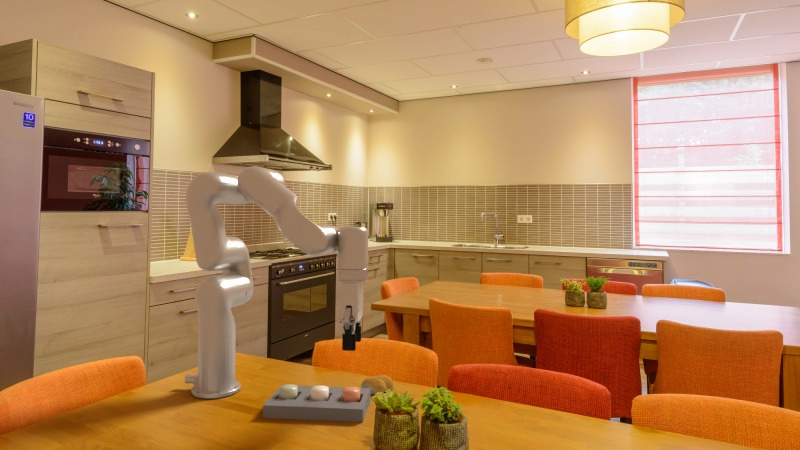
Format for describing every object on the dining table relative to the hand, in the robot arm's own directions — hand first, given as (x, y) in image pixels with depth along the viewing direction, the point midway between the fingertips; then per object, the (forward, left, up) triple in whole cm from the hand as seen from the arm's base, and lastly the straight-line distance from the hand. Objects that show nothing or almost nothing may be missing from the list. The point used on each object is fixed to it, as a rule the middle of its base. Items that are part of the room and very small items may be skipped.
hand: (352, 345), depth 116 cm
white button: (-8, 0, -15) cm, 17 cm away
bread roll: (+5, +15, -17) cm, 23 cm away
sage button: (-16, 0, -15) cm, 22 cm away
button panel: (-8, 0, -16) cm, 18 cm away
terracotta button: (0, 0, -15) cm, 15 cm away
